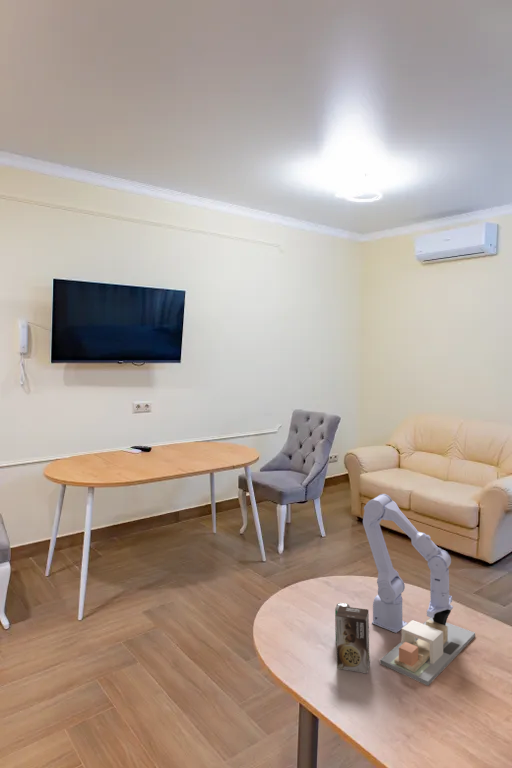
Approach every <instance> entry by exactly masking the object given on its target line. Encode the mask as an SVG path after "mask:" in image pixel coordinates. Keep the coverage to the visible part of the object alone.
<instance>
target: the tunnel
mask: <svg viewBox="0 0 512 768" xmlns="http://www.w3.org/2000/svg"><path fill="white" fill-rule="evenodd" d="M407 623H408V624H407V625H405V626H404V627H403V628H402V629H401V642H402V644H404V643H405V642H407V643H410V644H413V643H414V642H415V641H416V640H415V637H416V638H418V639H421V640H423V641H426V642H428V643H430V663H431V664H434V663H435V662H436V661H437V660H438V659H439V658H440V657H441V656H442V655H443V631H441V630H438V629H435V628H433V627H430V626H427V625H425V624H423V623H422V622H419V621H416V620H413V619H412V620H410V621H409V622H407Z"/></svg>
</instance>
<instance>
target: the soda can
mask: <svg viewBox="0 0 512 768" xmlns="http://www.w3.org/2000/svg"><path fill="white" fill-rule="evenodd" d="M339 606H344V607H351V606H350V604H348V603H345V602H339V603H336V606H335V608H334V611H335V613H334V616H335V619H334V622H335V623H334V624H335V625H334V626H335V627H334V629H335V630H334V631H335V642H336V643H337V636H336V614H337V611H338V609H339Z"/></svg>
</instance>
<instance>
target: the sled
mask: <svg viewBox="0 0 512 768" xmlns="http://www.w3.org/2000/svg"><path fill="white" fill-rule="evenodd" d="M425 622H426V625H427V626H430V627H433V628H435V629H438V630H441V631H443V645H444V644H445V643H446V642H447V641H448V626H445V625H442V624H440V623H437V622H434V621H431V620H429V618H428V619H427V620H425ZM412 645H415V646H417V647H418V661H417V662H416V663H415V664H414V665H413V666H410V665H407V664H405V663H403V662H401V661H399V656H398V657H397V658H396V659H395V660H394V663H395V664H397V665H400V666H402V667H404V668H406V669H408V670H411V671H413V672H416V671H417V670H418V669H419V668H420V667H421V666H422V665H423V664H424V663H425V662H426V661H427V660H428V659H429V658H430V643H428V642H426V641H423V640H421V639H418V640H417V641H415V642H414V643H413V644H412Z"/></svg>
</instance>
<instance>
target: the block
mask: <svg viewBox="0 0 512 768" xmlns="http://www.w3.org/2000/svg"><path fill="white" fill-rule="evenodd" d="M399 661H401V662H403V663H405V664H407V665H410V666H413V665H414V664H415V663H416V662H417V661H418V647H417V646H415V645H412V644H410V643H407V642H405V643H404V644H402V645H401V646H400V647H399Z"/></svg>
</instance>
